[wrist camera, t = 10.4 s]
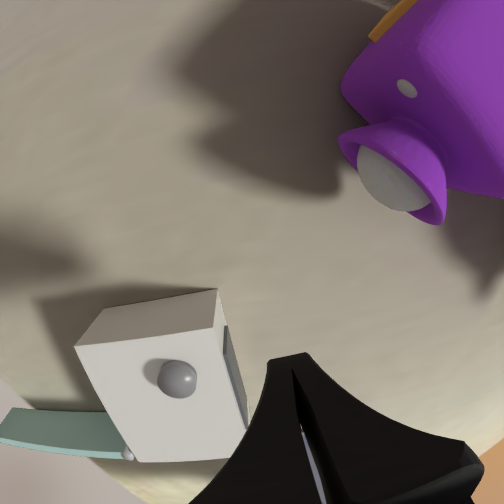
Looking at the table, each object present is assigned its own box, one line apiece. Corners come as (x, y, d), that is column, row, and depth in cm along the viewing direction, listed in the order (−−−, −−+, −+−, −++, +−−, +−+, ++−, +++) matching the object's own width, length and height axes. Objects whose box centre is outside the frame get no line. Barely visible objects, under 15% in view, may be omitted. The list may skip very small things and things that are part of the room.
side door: (143, 409, 22) (130, 453, 18) (148, 419, 23) (137, 462, 18) (12, 406, 22) (-9, 435, 18) (18, 415, 23) (-2, 444, 18)
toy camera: (287, 158, 18) (344, 154, 8) (374, -4, 15) (449, -76, 6) (422, 240, 20) (525, 294, 10) (486, 86, 17) (583, 72, 7)
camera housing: (253, 414, 23) (258, 471, 17) (155, 425, 23) (142, 478, 17) (220, 288, 20) (216, 334, 14) (103, 308, 20) (67, 353, 14)
